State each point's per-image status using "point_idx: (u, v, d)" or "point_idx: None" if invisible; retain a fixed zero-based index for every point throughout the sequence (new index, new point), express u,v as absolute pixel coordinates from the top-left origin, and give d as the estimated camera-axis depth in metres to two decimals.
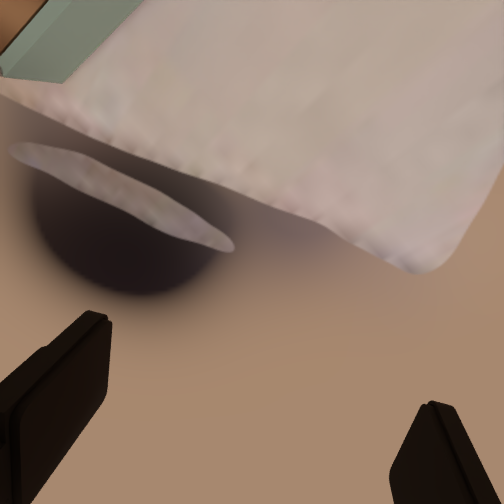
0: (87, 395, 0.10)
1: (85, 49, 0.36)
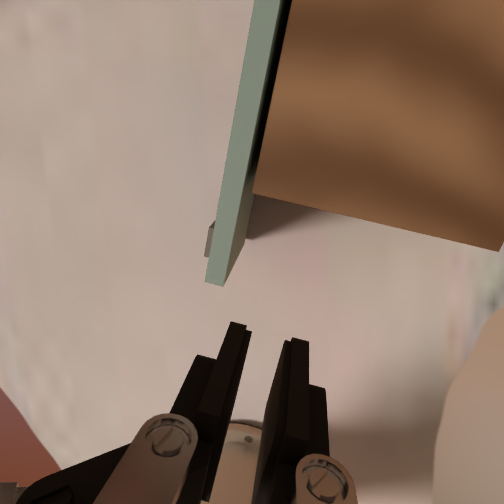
0: None
1: None
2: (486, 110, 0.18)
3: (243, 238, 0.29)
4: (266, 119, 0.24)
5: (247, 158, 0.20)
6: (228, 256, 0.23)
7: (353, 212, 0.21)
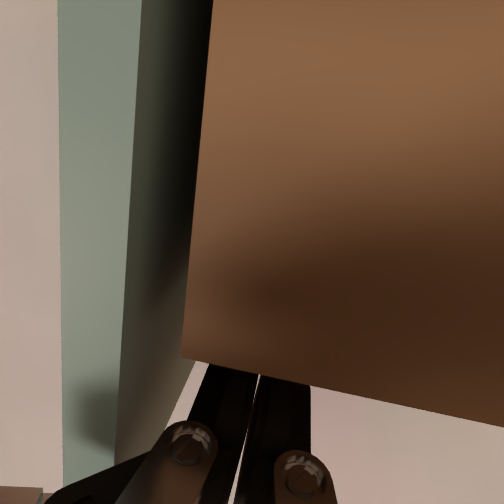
0: None
1: None
2: None
3: (189, 361, 0.15)
4: None
5: (120, 270, 0.07)
6: None
7: (479, 410, 0.07)
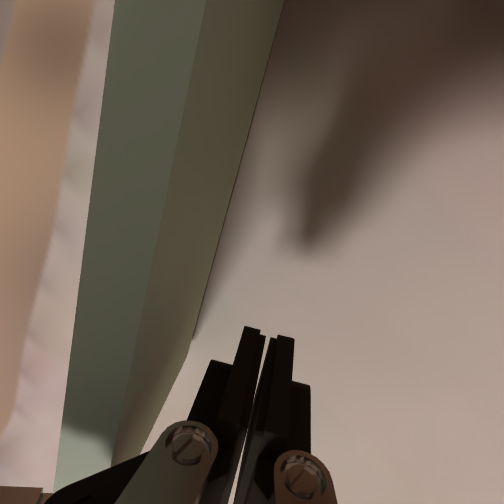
0: None
1: None
2: None
3: (181, 359, 0.15)
4: (232, 142, 0.10)
5: (143, 277, 0.06)
6: None
7: None
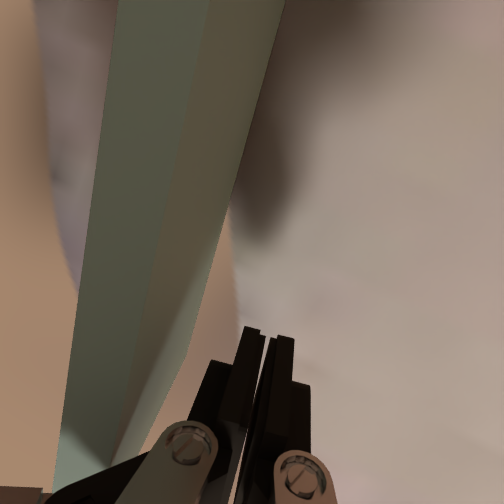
0: None
1: None
2: None
3: (180, 359, 0.15)
4: (233, 140, 0.10)
5: (145, 273, 0.06)
6: None
7: None
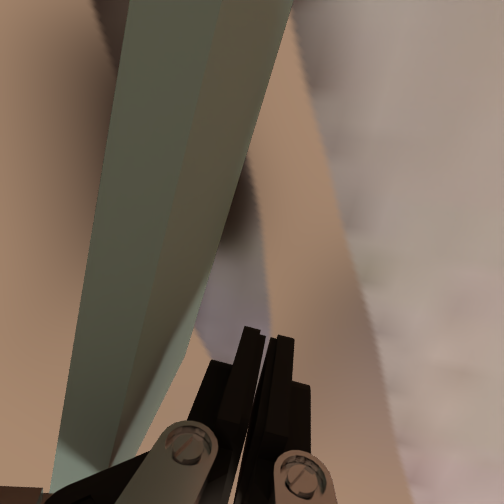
0: None
1: None
2: None
3: (179, 359, 0.15)
4: (238, 141, 0.10)
5: (148, 274, 0.06)
6: None
7: None
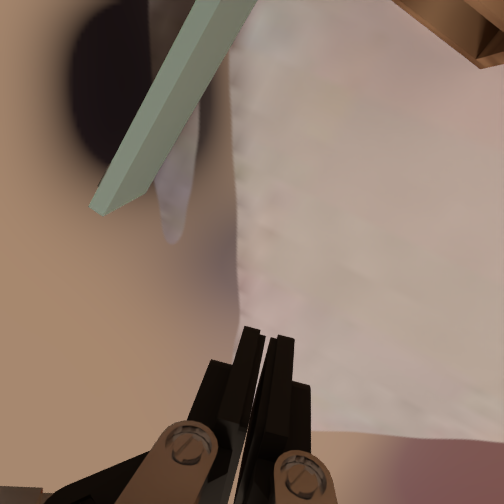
0: None
1: None
2: None
3: (144, 187, 0.32)
4: (192, 94, 0.28)
5: (154, 118, 0.24)
6: (115, 192, 0.26)
7: None
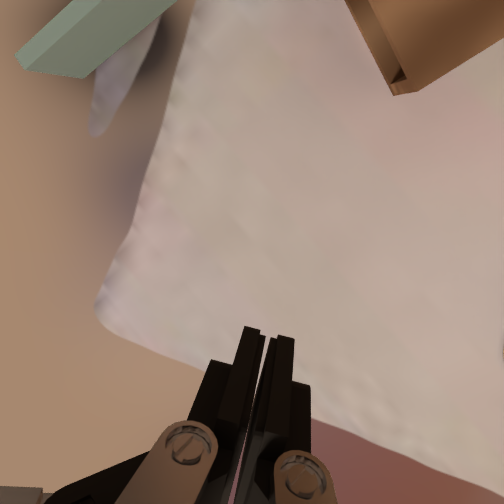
0: None
1: None
2: None
3: (82, 70, 0.34)
4: (150, 3, 0.30)
5: (99, 0, 0.26)
6: (42, 52, 0.28)
7: None
